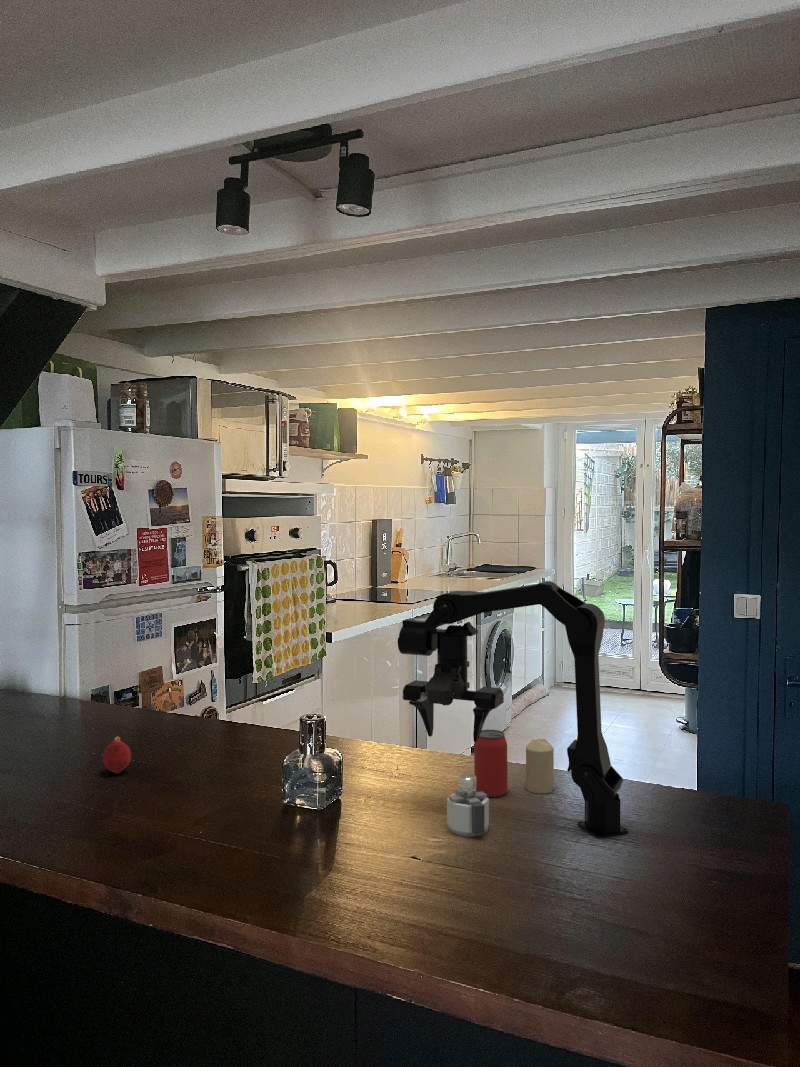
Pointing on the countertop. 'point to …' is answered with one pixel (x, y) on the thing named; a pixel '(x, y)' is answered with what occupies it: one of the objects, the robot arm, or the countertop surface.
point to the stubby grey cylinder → (467, 785)
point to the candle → (539, 766)
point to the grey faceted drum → (468, 814)
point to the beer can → (491, 763)
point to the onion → (117, 756)
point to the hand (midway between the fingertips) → (452, 738)
